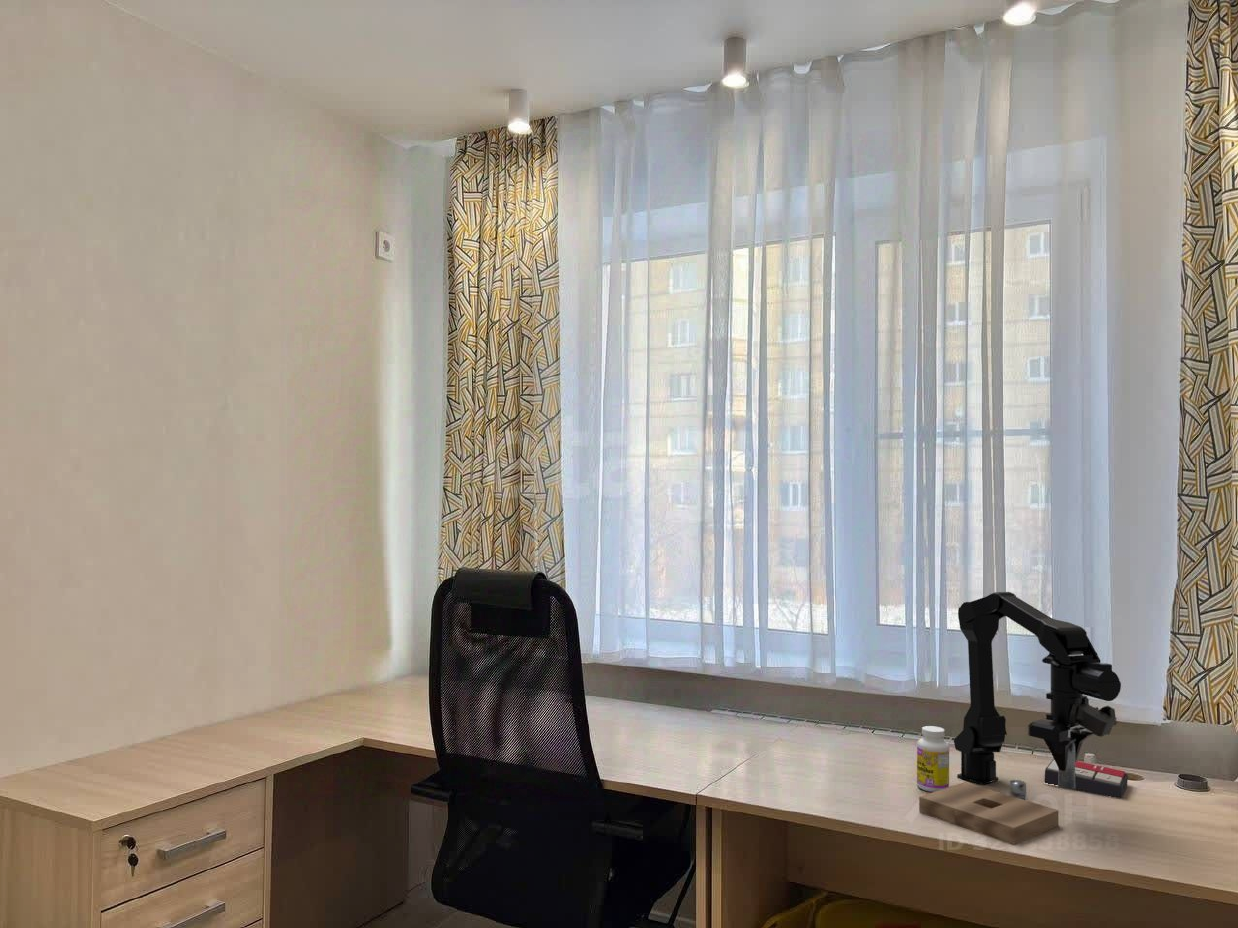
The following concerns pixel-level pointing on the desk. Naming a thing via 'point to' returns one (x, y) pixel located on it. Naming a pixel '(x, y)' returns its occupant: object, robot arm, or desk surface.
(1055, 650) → the robot arm
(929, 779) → the supplement bottle
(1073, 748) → the long metal pin
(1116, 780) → the dark boxy piece
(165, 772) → the desk surface
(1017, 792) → the short metal pin
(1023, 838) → the walnut hole board
